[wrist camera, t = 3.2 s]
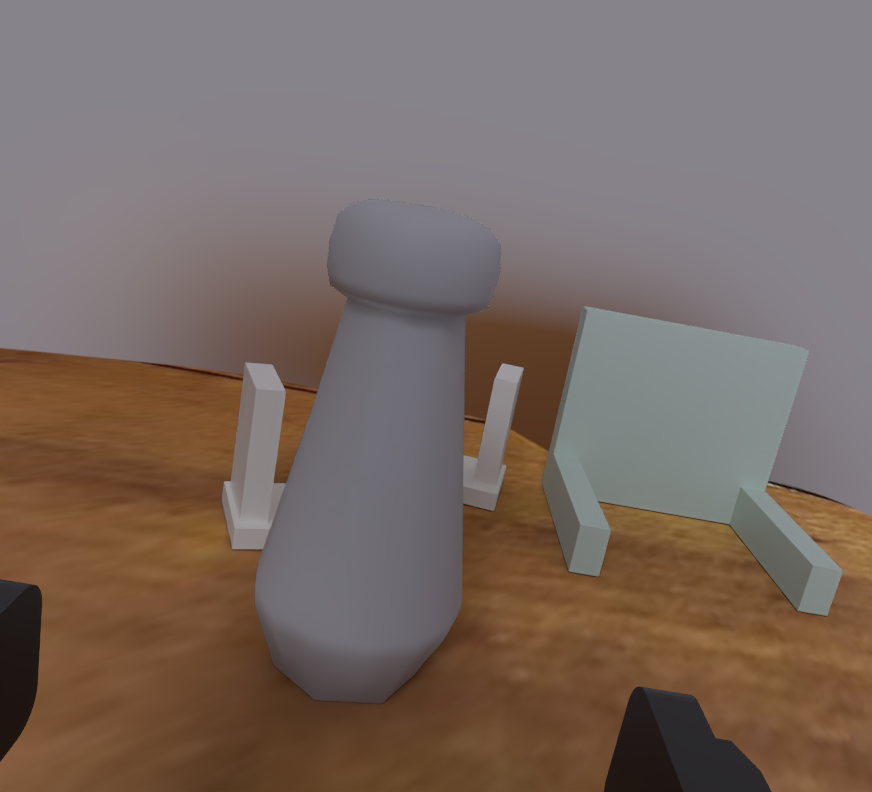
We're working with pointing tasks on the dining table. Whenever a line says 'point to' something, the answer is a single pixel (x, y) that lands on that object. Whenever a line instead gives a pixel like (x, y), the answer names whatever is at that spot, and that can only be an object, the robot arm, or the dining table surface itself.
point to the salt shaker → (379, 459)
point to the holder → (679, 442)
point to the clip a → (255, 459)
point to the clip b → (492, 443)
